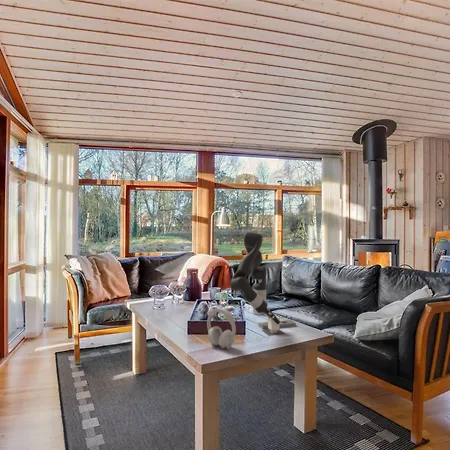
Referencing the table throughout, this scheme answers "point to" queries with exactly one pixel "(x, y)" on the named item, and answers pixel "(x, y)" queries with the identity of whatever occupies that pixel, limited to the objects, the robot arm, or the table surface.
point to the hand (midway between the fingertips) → (275, 321)
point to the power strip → (282, 324)
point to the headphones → (216, 333)
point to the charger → (273, 325)
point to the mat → (273, 333)
